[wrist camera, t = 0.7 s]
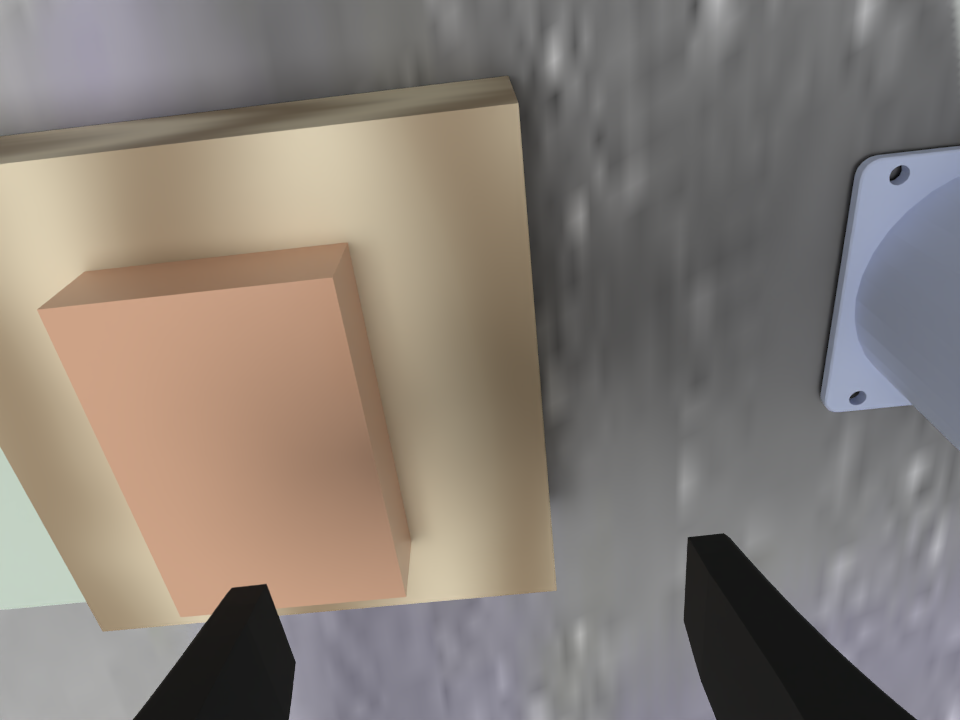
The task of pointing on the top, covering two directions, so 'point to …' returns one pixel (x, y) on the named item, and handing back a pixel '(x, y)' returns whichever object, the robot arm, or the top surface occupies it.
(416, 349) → the oak board
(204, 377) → the terracotta tile
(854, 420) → the top surface
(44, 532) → the sage mat
